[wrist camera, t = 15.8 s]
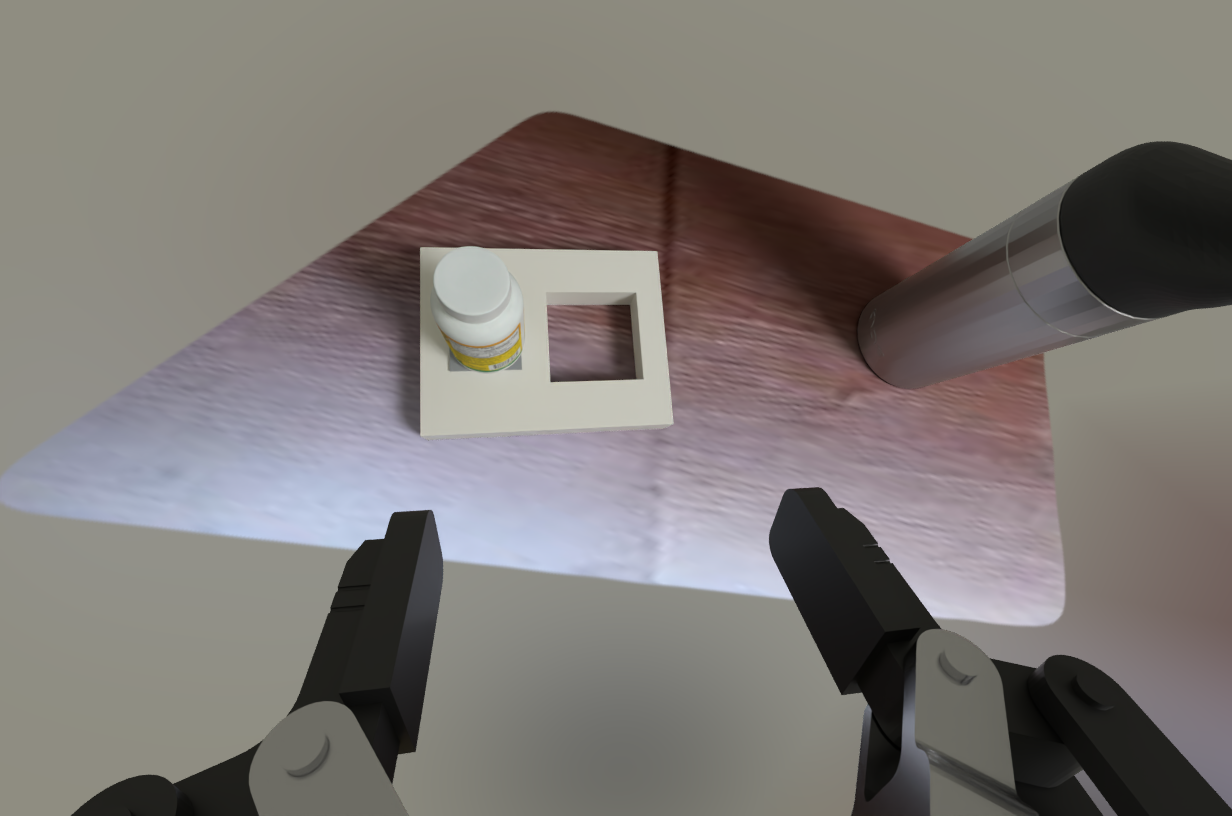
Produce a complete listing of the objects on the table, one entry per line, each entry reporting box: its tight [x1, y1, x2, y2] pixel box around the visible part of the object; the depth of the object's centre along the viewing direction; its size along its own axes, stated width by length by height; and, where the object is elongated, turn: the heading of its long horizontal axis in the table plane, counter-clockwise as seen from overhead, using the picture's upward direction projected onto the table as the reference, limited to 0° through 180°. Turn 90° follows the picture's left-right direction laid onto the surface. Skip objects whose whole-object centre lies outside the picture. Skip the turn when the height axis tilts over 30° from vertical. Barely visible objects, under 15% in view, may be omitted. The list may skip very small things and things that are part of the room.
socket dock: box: [420, 247, 673, 441], centre depth 37 cm, size 18×14×3 cm
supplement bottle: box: [430, 246, 525, 374], centre depth 30 cm, size 5×5×10 cm
